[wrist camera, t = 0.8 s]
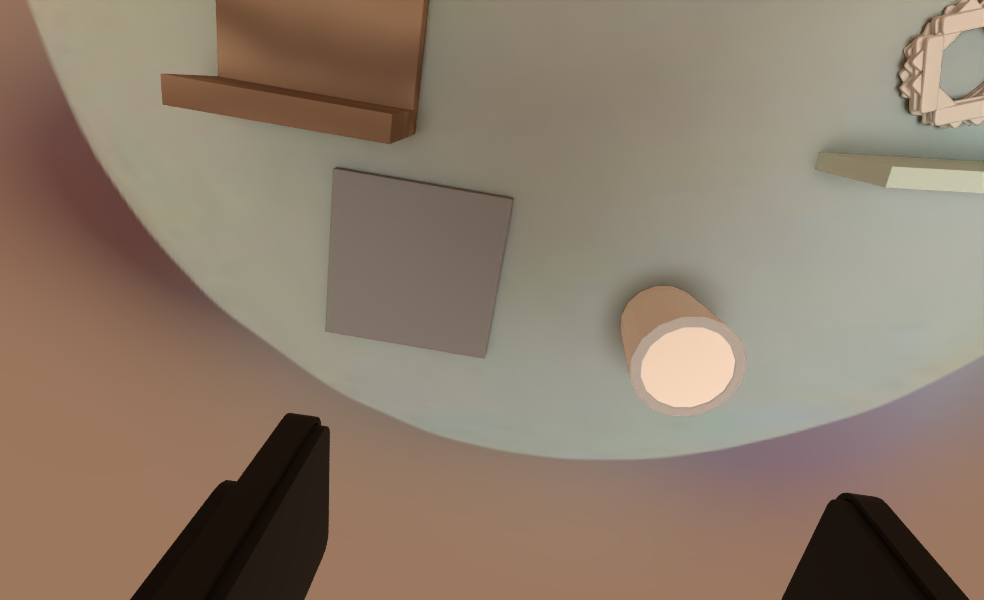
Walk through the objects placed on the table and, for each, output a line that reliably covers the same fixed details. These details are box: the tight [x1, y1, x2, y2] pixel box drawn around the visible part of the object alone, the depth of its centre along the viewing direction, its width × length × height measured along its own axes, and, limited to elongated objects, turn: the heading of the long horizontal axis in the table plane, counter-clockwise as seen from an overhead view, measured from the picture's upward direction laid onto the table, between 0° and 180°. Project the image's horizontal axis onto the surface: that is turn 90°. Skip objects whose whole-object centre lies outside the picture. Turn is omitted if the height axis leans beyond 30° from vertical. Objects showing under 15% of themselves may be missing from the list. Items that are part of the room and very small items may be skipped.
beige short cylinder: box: [621, 286, 747, 416], centre depth 35 cm, size 7×7×7 cm
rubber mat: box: [325, 167, 513, 359], centre depth 37 cm, size 12×12×1 cm
